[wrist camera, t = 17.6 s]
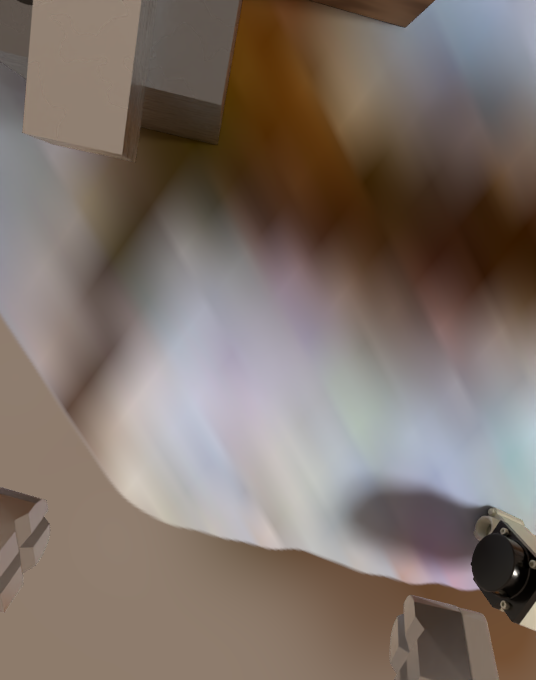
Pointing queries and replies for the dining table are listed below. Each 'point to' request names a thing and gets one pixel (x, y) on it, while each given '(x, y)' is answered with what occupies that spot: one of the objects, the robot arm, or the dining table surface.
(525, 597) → the pneumatic valve
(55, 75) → the grey rectangular block
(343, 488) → the dining table surface
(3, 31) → the riser block
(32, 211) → the dining table surface
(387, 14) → the tall wooden cabinet
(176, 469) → the dining table surface
